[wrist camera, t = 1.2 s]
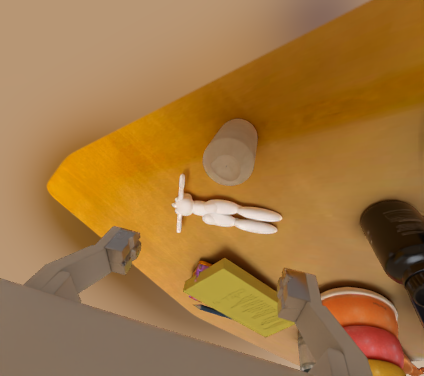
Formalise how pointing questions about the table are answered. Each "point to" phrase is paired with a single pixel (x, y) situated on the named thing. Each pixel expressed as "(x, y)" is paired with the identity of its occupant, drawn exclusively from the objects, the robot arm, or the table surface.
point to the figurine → (411, 367)
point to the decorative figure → (224, 213)
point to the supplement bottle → (398, 243)
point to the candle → (231, 153)
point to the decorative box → (418, 311)
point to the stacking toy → (369, 326)
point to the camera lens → (305, 355)
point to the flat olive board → (238, 297)
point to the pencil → (210, 310)
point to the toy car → (201, 266)
